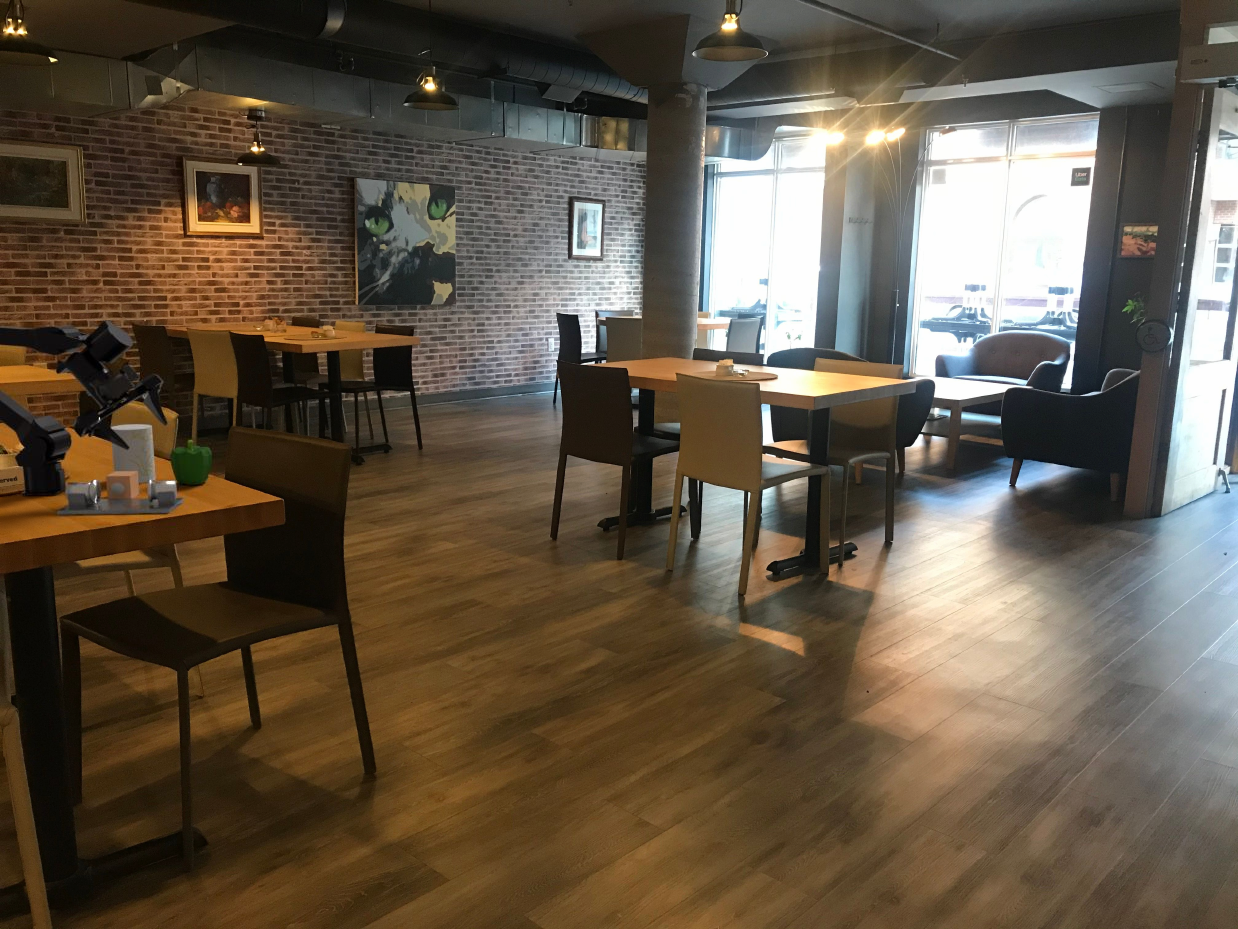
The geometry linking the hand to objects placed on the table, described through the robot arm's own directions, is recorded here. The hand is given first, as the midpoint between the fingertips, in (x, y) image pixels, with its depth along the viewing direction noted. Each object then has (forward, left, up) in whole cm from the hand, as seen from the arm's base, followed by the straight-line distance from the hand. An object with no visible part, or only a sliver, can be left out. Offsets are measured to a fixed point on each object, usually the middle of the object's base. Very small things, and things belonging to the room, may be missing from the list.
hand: (147, 436), depth 199 cm
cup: (-8, +16, -13) cm, 22 cm away
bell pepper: (+5, +12, -13) cm, 18 cm away
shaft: (+5, -11, -11) cm, 17 cm away
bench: (-2, -11, -12) cm, 17 cm away
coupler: (-5, -1, -12) cm, 13 cm away
